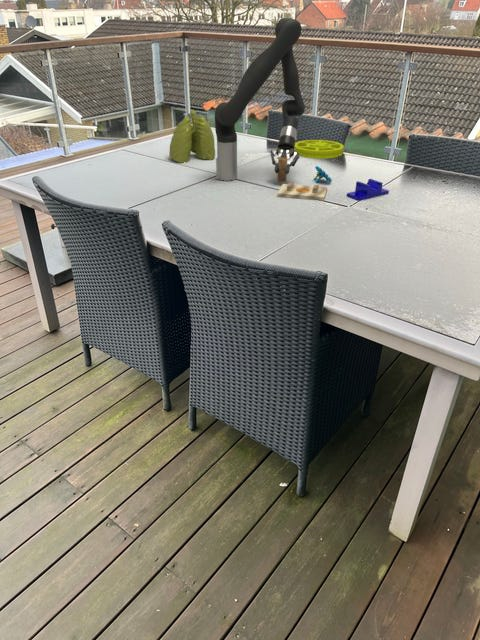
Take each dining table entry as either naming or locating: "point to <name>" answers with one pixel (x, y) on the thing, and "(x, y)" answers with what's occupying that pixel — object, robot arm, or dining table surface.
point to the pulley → (318, 149)
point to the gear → (321, 175)
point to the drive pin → (282, 169)
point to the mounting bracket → (367, 190)
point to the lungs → (192, 139)
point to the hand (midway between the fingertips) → (281, 172)
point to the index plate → (302, 191)
